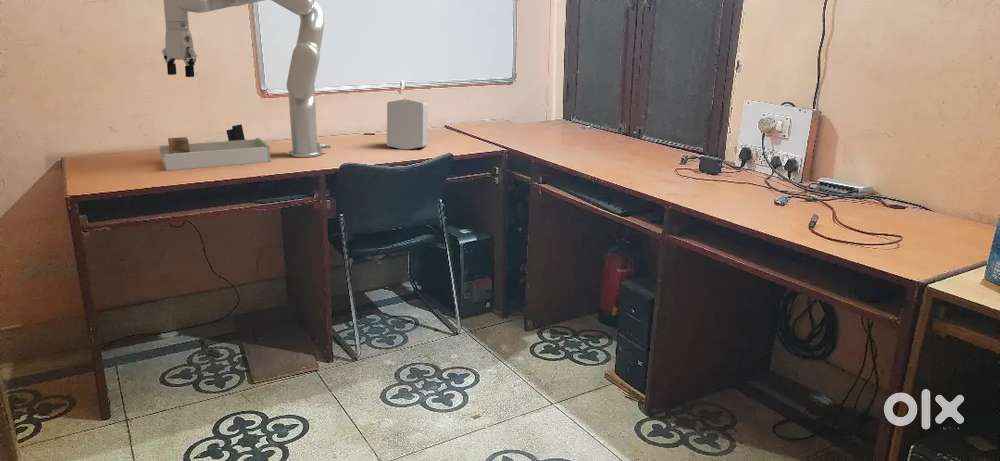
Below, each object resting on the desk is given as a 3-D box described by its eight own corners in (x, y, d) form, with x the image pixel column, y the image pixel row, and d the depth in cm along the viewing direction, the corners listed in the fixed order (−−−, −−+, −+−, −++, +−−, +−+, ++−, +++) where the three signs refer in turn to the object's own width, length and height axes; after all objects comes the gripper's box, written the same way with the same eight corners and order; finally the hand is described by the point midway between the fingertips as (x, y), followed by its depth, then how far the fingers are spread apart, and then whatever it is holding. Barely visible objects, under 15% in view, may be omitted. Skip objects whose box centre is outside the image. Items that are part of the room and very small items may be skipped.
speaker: (251, 150, 283) (246, 123, 280) (238, 152, 279) (232, 126, 276) (240, 149, 288) (235, 123, 285) (227, 152, 284) (222, 125, 281)
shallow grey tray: (259, 153, 279) (258, 137, 277) (270, 161, 264) (269, 145, 262) (161, 160, 262) (159, 144, 260) (166, 170, 247) (164, 153, 245)
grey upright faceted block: (429, 148, 305) (430, 100, 302) (422, 150, 290) (423, 99, 287) (395, 147, 306) (395, 99, 303) (386, 148, 291) (387, 98, 288)
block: (187, 153, 264) (185, 137, 262) (190, 156, 259) (188, 139, 257) (170, 154, 261) (168, 138, 259) (171, 157, 256) (169, 140, 254)
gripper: (202, 28, 254) (206, 77, 259) (170, 25, 262) (174, 73, 267) (184, 27, 248) (188, 78, 253) (152, 25, 256) (156, 74, 261)
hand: (181, 75), depth 260 cm, fingers open, 9 cm apart
